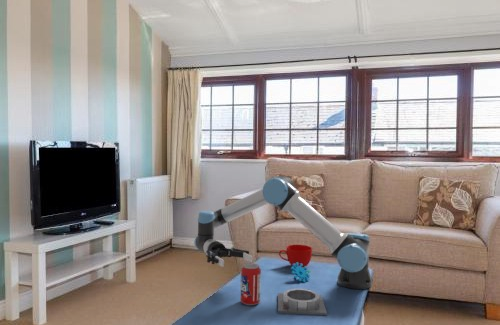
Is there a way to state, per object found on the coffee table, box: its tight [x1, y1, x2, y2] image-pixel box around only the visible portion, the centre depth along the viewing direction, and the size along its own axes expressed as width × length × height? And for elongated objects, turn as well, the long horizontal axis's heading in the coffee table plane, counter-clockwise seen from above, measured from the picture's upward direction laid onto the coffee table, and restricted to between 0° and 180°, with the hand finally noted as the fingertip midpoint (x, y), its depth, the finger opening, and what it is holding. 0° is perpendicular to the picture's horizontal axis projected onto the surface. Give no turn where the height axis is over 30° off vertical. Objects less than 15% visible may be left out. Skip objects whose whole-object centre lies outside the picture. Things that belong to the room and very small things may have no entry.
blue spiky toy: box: [290, 262, 312, 283], centre depth 196 cm, size 11×6×10 cm
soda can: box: [240, 262, 262, 306], centre depth 166 cm, size 8×8×15 cm
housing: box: [277, 288, 328, 316], centre depth 165 cm, size 18×18×4 cm
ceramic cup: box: [278, 244, 313, 268], centre depth 214 cm, size 13×17×10 cm
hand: (237, 261), depth 174 cm, fingers open, 13 cm apart
